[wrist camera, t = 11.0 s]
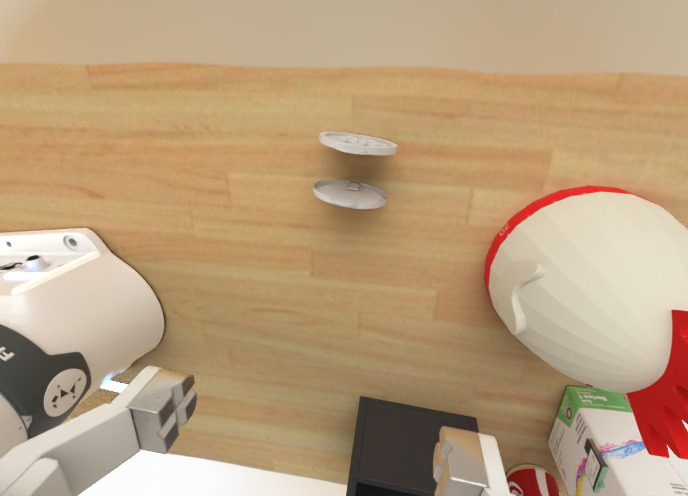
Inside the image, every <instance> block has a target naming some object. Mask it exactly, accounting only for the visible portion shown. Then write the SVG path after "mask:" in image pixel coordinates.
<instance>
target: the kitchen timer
mask: <svg viewBox="0 0 688 496" xmlns="http://www.w3.org/2000/svg"><path fill="white" fill-rule="evenodd" d="M485 282H486V286H487V290H488V293H489V297H490V300H491V302H492V304H493V307H494V309H495V310H496V312H497V313H498V315H499V316H500V318H501V319H502V320H503V322H504V323H505V325H506V326H507V328H508V329H509V331H510V332H511V334H512V335H514V336H515V337H516V338H517V339H518V340H519V341H521V342H522V343H523V344H524V345H525V346H526V347H527V348H529V349H530V350H531V351H532V352H533V353H535V354H536V355H537V356H538V357H540V358H541V359H542V360H544V361H545V362H546V363H548V364H549V365H550V366H552V367H553V368H554V369H556V370H557V371H559V372H561V373H563V374H564V375H566V376H569V377H571V378H573V379H575V380H578V381H580V382H583V383H585V384H586V385H587V386H588V387H589V388H598V389H601V390H605V391H610V392H615V393H622V394H627V396H628V399H629V402H630V405H631V408H632V411H633V414H634V417H635V420H636V423H637V426H638V429H639V432H640V435H641V438H642V440H643V442H644V445H645V447H646V449H647V451H648V453H649V454H650V455H654V456H660V457H666V458H669V454H668V448H667V445H668V446H669V448H670V449H671V450H672V451H673V452H674V454H675V455H676V456H677V457H679V458H682V459H688V432H687V430H686V428H685V426H684V424H683V422H682V420H683V421H684V422H686V423H687V424H688V229H686V228H685V227H684V226H683V225H682V224H681V223H680V222H679V221H677V220H676V219H675V218H674V217H673V216H672V215H671V214H669V213H668V212H667V211H666V210H665V209H664V208H662V207H661V206H659V205H657V204H655V203H653V202H651V201H648V200H646V199H644V198H642V197H639V196H636V195H634V194H631V193H629V192H626V191H624V190H621V189H619V188H609V187H598V186H585V187H579V188H573V189H567V190H561V191H558V192H556V193H553V194H551V195H549V196H546V197H544V198H541V199H539V200H537V201H534V202H533V203H531V204H530V205H528V206H527V207H526V208H524V209H523V210H522V211H520V212H519V213H517V214H516V215H515V216H513V217H512V218H511V219H510V220H509V221H508V223H507V224H506V225H505V226H504V227H503V229H502V230H501V231H500V232H499V233H498V235H497V236H496V237H495V239H494V241H493V244H492V246H491V248H490V251H489V253H488V255H487V258H486V267H485ZM681 419H682V420H681Z"/></svg>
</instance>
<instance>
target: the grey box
mask: <svg viewBox="0 0 688 496" xmlns="http://www.w3.org/2000/svg"><path fill="white" fill-rule="evenodd" d="M442 426H446V427H452V428H457V429H462V430H467V431H473V432H475V433H479V430H478V426H477V421H476V418H473V417H467V416H462V415H457V414H451V413H446V412H441V411H435V410H430V409H425V408H420V407H414V406H409V405H404V404H398V403H393V402H388V401H382V400H377V399H372V398H366V397H360V403H359V410H358V417H357V423H356V430H355V437H354V444H353V451H352V458H351V464H350V471H349V478H348V486H347V493H346V496H435V490H436V487H437V482H436V480H435V479H434V477H433V457H434V450H435V446H436V443H438V442H440V438H439V433H440V430H441V427H442Z"/></svg>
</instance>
